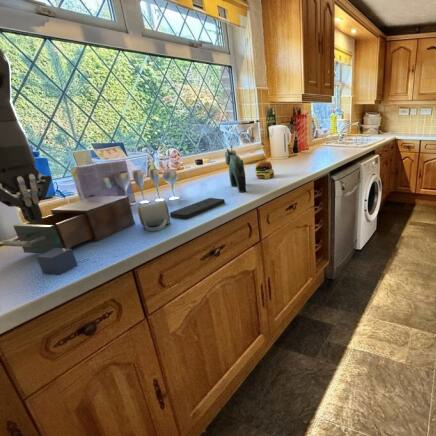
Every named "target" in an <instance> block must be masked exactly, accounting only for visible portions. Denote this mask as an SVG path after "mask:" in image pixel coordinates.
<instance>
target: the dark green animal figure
mask: <svg viewBox="0 0 436 436" xmlns="http://www.w3.org/2000/svg"><path fill="white" fill-rule="evenodd" d="M224 157H225V164H226V165H227V166H228V175H229V181H230V182H229V183H230V186H231V187H237V190H238V192H239V193H245V192H247V183H246V179H247V178H246V171H245V165H244V161H243V159H241V157H240V156H239V155H238V154H237V152H236V151H235V150H233V145H232V144H230V150H229V149H228V148H226V151H225V152H224Z"/></svg>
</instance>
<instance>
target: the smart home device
mask: <svg viewBox="0 0 436 436" xmlns="http://www.w3.org/2000/svg"><path fill="white" fill-rule="evenodd" d="M225 200H226V199H224V198H216V197H207V198H205V199H201V200H200V201H197V202H195V203H192V204H189V205H186V206H184V207H181V208H179V209H178V208H177V209H176V210H173V211H170V212H169V215H170V218H172V219H173V218H175V219H181V220H188V219H192V218H194V217H196V216H198V215H200V214H203V213H205V212H207V211H211V210H212V209H213V210H214V208H218V207H220V206H223V205H224V204H226V201H225Z"/></svg>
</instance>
